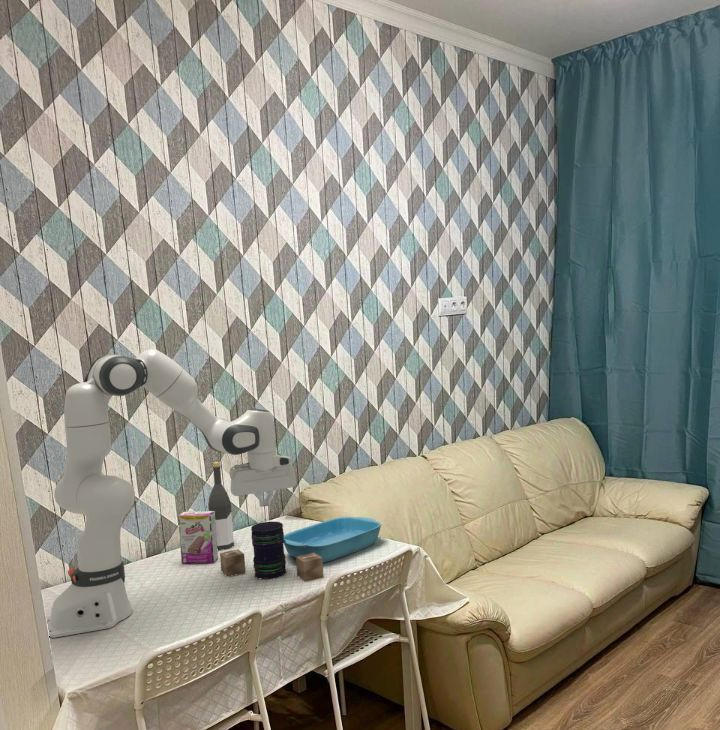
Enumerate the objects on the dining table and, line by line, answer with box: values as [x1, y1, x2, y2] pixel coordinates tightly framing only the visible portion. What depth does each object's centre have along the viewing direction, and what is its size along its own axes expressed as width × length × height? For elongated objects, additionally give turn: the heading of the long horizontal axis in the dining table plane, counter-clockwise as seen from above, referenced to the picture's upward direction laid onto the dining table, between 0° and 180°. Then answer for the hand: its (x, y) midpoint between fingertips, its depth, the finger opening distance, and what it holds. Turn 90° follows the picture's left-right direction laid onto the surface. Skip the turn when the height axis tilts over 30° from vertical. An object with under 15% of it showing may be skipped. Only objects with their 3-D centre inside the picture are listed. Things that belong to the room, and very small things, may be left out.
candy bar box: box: [177, 510, 219, 565], centre depth 232 cm, size 11×5×16 cm, turn 84°
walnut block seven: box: [219, 548, 246, 577], centre depth 220 cm, size 6×6×6 cm
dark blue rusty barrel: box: [250, 521, 287, 580], centre depth 216 cm, size 10×10×15 cm
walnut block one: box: [295, 553, 324, 583], centre depth 211 cm, size 6×6×6 cm
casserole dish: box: [283, 516, 382, 564], centre depth 236 cm, size 37×22×7 cm, turn 137°
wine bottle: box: [207, 461, 235, 550], centre depth 246 cm, size 8×8×30 cm
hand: (265, 505), depth 215 cm, fingers closed
